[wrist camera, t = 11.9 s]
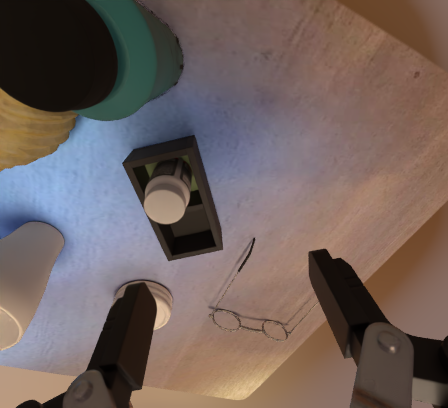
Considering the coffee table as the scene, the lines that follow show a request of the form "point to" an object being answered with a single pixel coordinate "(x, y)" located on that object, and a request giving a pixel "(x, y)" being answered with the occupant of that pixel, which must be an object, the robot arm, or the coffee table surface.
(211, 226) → the holder
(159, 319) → the white jar lid
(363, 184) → the coffee table surface
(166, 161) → the pill bottle
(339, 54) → the coffee table surface
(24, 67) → the beverage bottle
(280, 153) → the coffee table surface
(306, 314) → the eyeglasses
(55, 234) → the cup
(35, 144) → the yellow lumpy rounded block
